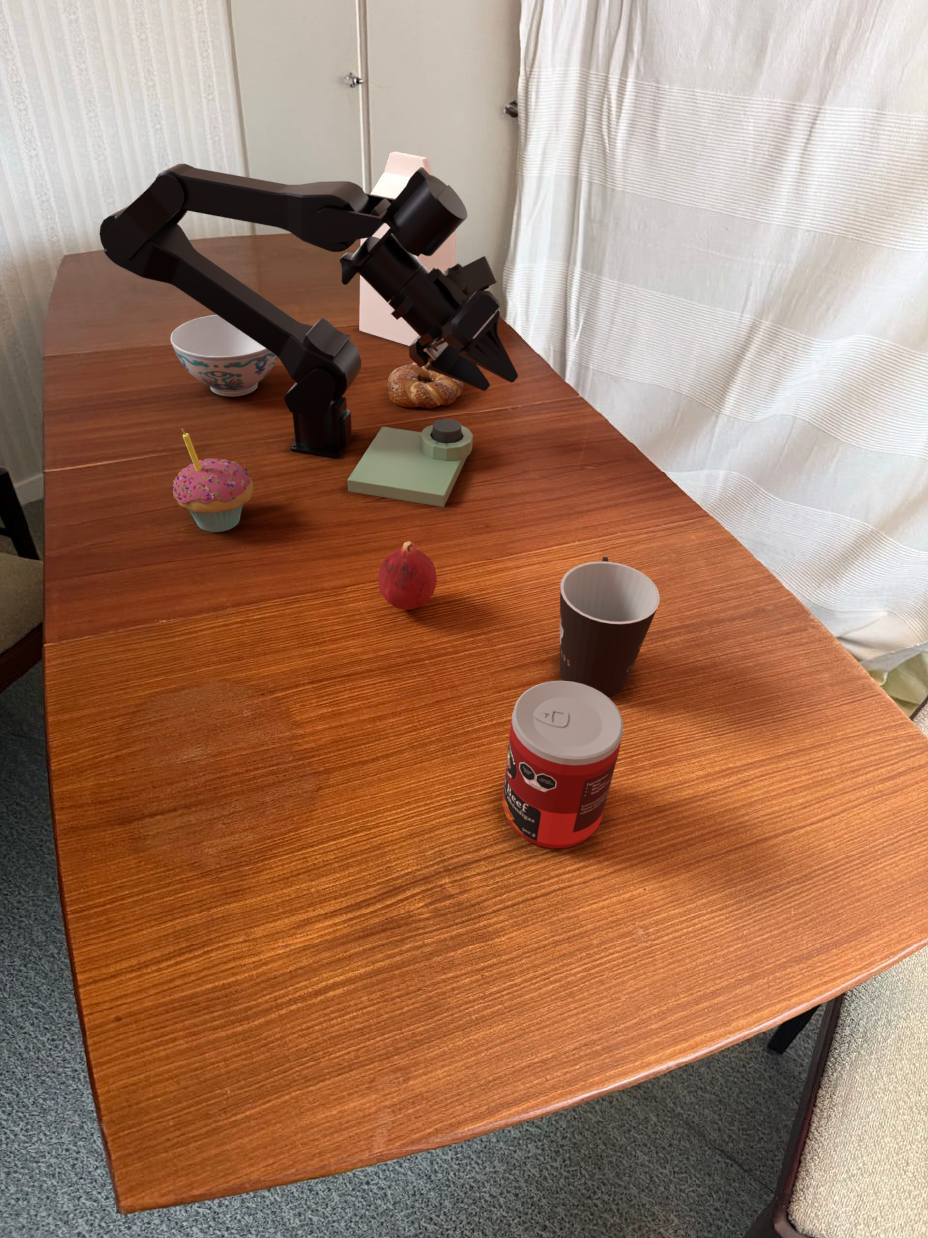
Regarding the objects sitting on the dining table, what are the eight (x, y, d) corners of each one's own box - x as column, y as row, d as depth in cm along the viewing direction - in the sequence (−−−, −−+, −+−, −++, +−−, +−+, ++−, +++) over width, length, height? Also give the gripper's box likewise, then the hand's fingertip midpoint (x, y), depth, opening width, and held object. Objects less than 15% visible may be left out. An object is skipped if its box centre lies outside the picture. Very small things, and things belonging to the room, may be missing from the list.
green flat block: (347, 491, 101) (346, 466, 98) (383, 436, 111) (382, 412, 109) (449, 508, 99) (450, 483, 96) (475, 451, 109) (477, 426, 107)
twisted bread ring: (415, 420, 115) (416, 395, 112) (369, 392, 121) (368, 367, 119) (480, 397, 121) (481, 373, 119) (432, 371, 127) (432, 347, 125)
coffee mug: (616, 720, 74) (636, 637, 67) (531, 682, 77) (542, 599, 71) (664, 647, 82) (686, 566, 75) (585, 615, 85) (600, 534, 78)
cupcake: (190, 549, 90) (169, 451, 83) (172, 509, 96) (151, 414, 88) (266, 530, 94) (253, 434, 86) (245, 493, 99) (231, 400, 91)
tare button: (429, 442, 104) (429, 429, 103) (436, 429, 107) (436, 416, 106) (457, 446, 104) (457, 433, 103) (463, 433, 106) (464, 420, 105)
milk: (457, 326, 141) (463, 155, 124) (418, 348, 133) (419, 169, 116) (399, 310, 145) (398, 142, 128) (359, 330, 138) (352, 155, 121)
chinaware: (158, 396, 117) (147, 343, 112) (220, 357, 128) (212, 306, 123) (249, 419, 113) (242, 365, 108) (305, 376, 124) (301, 325, 119)
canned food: (496, 774, 69) (506, 680, 62) (590, 770, 70) (611, 677, 62) (507, 854, 63) (520, 761, 56) (610, 849, 64) (635, 757, 57)
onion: (428, 630, 82) (429, 566, 77) (372, 621, 83) (369, 556, 78) (441, 594, 86) (443, 531, 81) (387, 586, 87) (386, 522, 82)
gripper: (478, 206, 85) (578, 319, 91) (428, 253, 103) (514, 346, 108) (408, 285, 84) (513, 395, 90) (370, 319, 102) (460, 409, 107)
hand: (500, 383), depth 99 cm, fingers open, 9 cm apart
